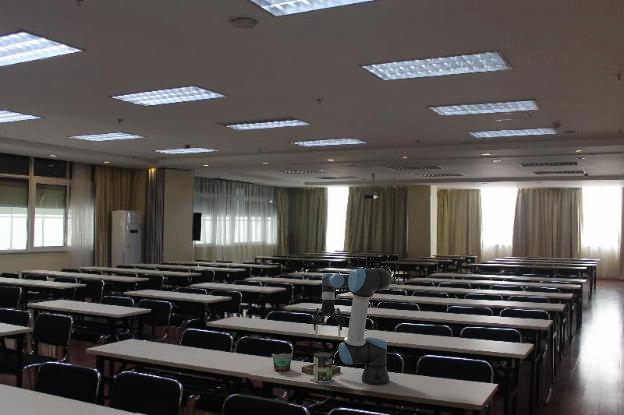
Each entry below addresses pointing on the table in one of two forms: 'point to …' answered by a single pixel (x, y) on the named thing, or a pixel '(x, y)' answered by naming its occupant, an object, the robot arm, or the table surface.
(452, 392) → the table surface
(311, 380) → the mat
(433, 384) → the table surface
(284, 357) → the food container
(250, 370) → the table surface
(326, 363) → the coffee can
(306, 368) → the wooden tray
